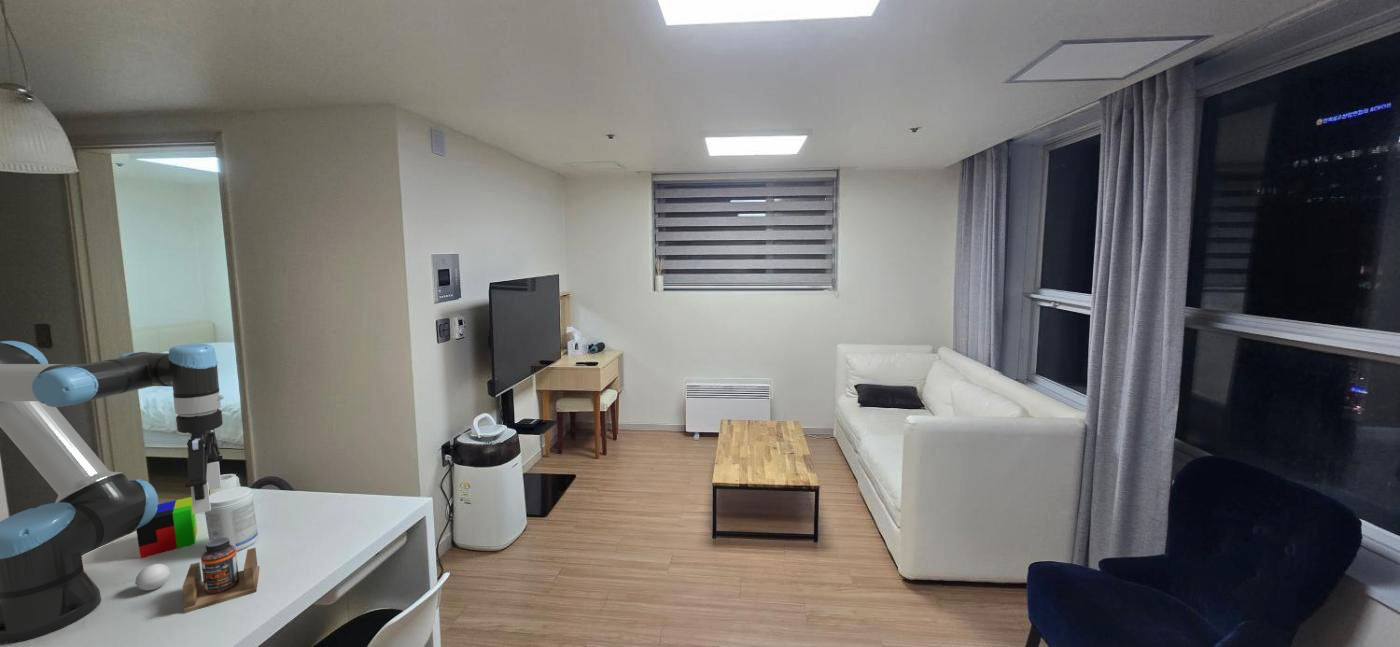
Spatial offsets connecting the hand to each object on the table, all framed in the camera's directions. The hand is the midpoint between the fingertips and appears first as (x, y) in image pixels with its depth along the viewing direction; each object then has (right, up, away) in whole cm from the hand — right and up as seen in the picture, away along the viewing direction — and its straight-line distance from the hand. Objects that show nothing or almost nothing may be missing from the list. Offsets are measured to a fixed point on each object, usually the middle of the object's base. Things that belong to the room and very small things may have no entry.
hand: (208, 499), depth 120 cm
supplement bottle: (+4, -20, -1) cm, 21 cm away
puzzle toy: (-28, -19, +19) cm, 39 cm away
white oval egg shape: (-14, -21, 0) cm, 25 cm away
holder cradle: (+4, -21, 0) cm, 21 cm away
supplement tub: (-10, -19, +18) cm, 28 cm away
